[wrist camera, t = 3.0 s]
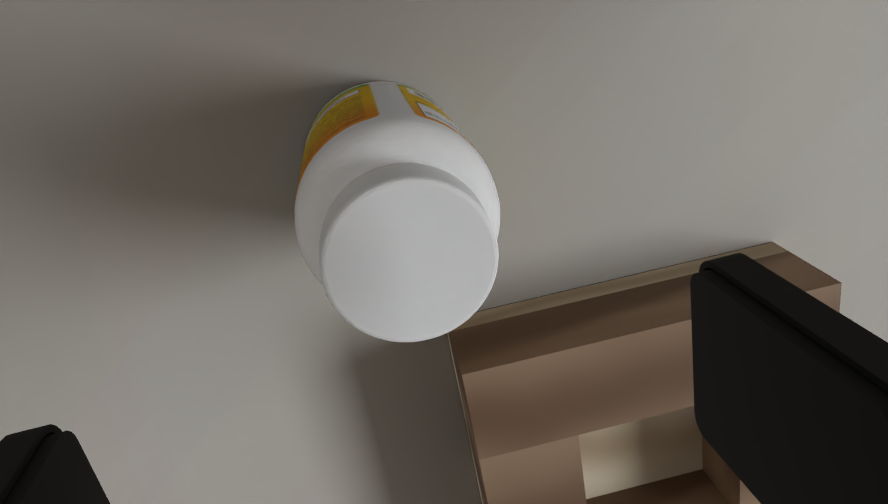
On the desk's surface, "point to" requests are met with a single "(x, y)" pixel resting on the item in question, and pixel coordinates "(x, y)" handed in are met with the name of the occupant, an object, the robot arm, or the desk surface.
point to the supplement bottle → (396, 213)
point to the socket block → (600, 391)
